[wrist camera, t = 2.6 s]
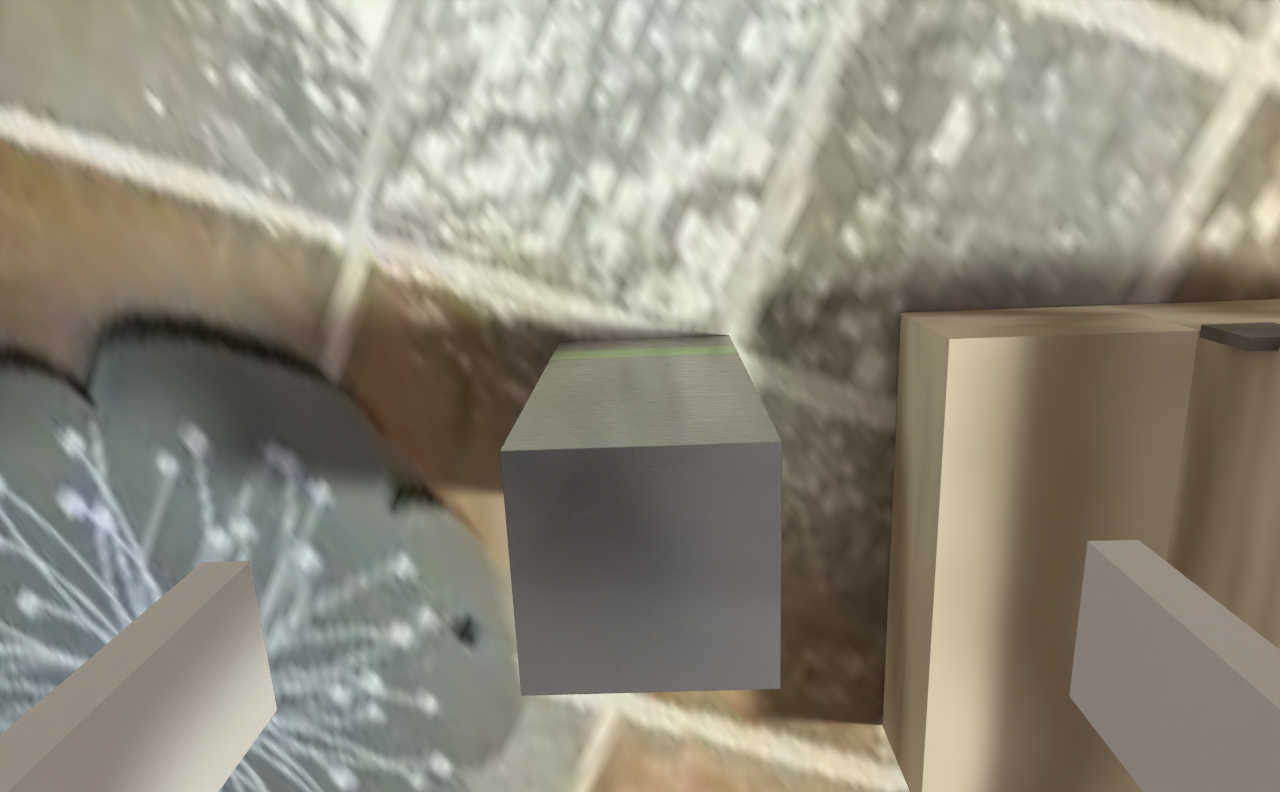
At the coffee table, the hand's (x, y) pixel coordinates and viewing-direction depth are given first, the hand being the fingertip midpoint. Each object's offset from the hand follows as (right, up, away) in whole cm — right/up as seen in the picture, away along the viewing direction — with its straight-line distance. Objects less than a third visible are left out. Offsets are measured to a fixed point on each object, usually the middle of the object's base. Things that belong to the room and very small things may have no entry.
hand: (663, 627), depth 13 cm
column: (0, +3, +12) cm, 12 cm away
